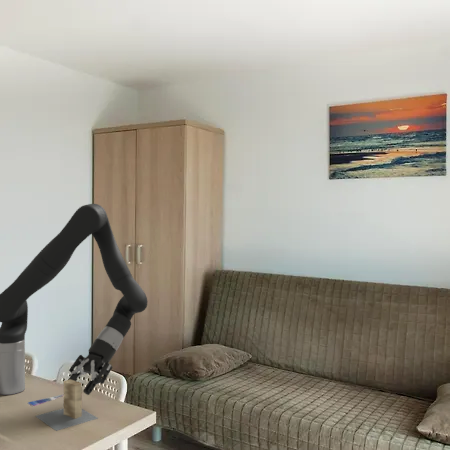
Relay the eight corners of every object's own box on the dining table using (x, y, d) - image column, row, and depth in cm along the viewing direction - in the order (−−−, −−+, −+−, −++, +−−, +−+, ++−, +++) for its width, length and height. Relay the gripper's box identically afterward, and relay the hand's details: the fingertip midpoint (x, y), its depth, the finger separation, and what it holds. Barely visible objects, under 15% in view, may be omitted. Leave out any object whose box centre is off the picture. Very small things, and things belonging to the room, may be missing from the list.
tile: (63, 414, 156) (63, 381, 156) (70, 411, 158) (70, 379, 158) (75, 418, 153) (75, 385, 152) (82, 416, 155) (82, 382, 154)
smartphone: (80, 398, 169) (33, 409, 160) (80, 401, 169) (33, 412, 160) (70, 392, 175) (25, 402, 165) (70, 395, 175) (25, 405, 165)
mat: (35, 417, 155) (35, 415, 155) (75, 406, 163) (75, 404, 163) (56, 432, 144) (56, 430, 144) (98, 420, 153) (98, 418, 153)
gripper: (85, 334, 167) (54, 379, 158) (115, 341, 158) (84, 389, 150) (98, 347, 171) (69, 391, 163) (128, 354, 163) (99, 401, 154)
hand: (76, 390), depth 156 cm, fingers open, 8 cm apart
